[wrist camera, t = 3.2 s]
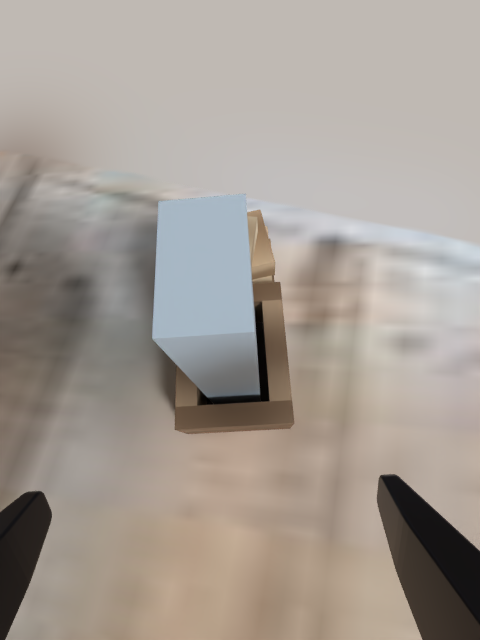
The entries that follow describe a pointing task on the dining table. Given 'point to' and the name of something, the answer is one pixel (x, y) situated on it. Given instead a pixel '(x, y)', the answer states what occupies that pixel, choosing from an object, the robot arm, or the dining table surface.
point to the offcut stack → (260, 249)
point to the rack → (253, 415)
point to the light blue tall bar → (207, 296)
